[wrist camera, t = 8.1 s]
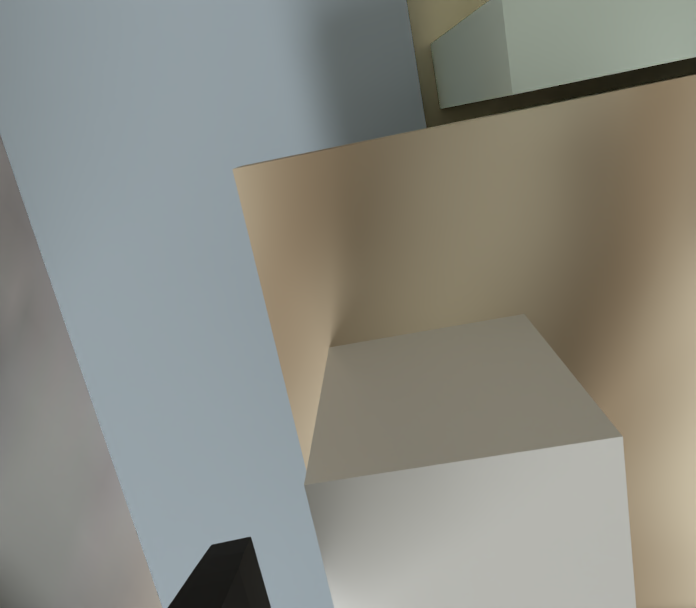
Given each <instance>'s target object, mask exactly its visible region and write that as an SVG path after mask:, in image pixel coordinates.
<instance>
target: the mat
mask: <svg viewBox="0 0 696 608" xmlns="http://www.w3.org/2000/svg"><path fill="white" fill-rule="evenodd" d="M425 128H426V121H425V115H424V109H423V102H422V96H421V89H420V83H419V77H418V70H417V64H416V58H415V51H414V45H413V38H412V32H411V26H410V19H409V13H408V6H407V0H0V135H1V138H2V141H3V144H4V147H5V150H6V153H7V156H8V159H9V161H10V164H11V167H12V170H13V173H14V176H15V179H16V182H17V185H18V188H19V191H20V194H21V196H22V199H23V202H24V205H25V208H26V211H27V214H28V217H29V220H30V223H31V226H32V228H33V231H34V234H35V237H36V240H37V243H38V246H39V249H40V252H41V255H42V258H43V261H44V263H45V266H46V269H47V272H48V275H49V278H50V281H51V284H52V287H53V290H54V293H55V295H56V298H57V301H58V304H59V307H60V310H61V313H62V316H63V319H64V322H65V325H66V328H67V330H68V333H69V336H70V339H71V342H72V345H73V348H74V351H75V354H76V357H77V360H78V362H79V365H80V368H81V371H82V374H83V377H84V380H85V383H86V386H87V389H88V392H89V395H90V397H91V400H92V403H93V406H94V409H95V412H96V415H97V418H98V421H99V424H100V427H101V429H102V432H103V435H104V438H105V441H106V444H107V447H108V450H109V453H110V456H111V459H112V462H113V464H114V467H115V470H116V473H117V476H118V479H119V482H120V485H121V488H122V491H123V494H124V496H125V499H126V502H127V505H128V508H129V511H130V514H131V517H132V520H133V523H134V526H135V529H136V531H137V534H138V537H139V540H140V543H141V546H142V549H143V552H144V555H145V558H146V561H147V563H148V566H149V569H150V572H151V575H152V578H153V581H154V584H155V587H156V590H157V593H158V596H159V598H160V601H161V604H162V607H163V608H168V606H169V605H170V603H171V602H172V601H173V599H174V598H175V596H176V595H177V593H178V592H179V590H180V589H181V587H182V586H183V584H184V583H185V582H186V580H187V579H188V577H189V576H190V574H191V573H192V571H193V570H194V568H195V567H196V566H197V564H198V563H199V561H200V560H201V558H202V557H203V556H204V554H205V553H206V551H207V550H208V549H209V547H210V546H211V545H212V544H217V543H222V542H227V541H231V540H236V539H241V538H246V537H251V539H252V542H253V546H254V549H255V553H256V556H257V560H258V563H259V567H260V570H261V574H262V577H263V581H264V584H265V588H266V591H267V595H268V598H269V602H270V606H271V608H334V605H333V601H332V597H331V593H330V589H329V585H328V581H327V577H326V573H325V569H324V565H323V560H322V556H321V552H320V548H319V544H318V540H317V536H316V532H315V528H314V524H313V520H312V516H311V512H310V507H309V503H308V499H307V495H306V491H305V487H304V482H305V477H306V467H305V463H304V459H303V455H302V451H301V447H300V443H299V439H298V435H297V431H296V427H295V423H294V419H293V414H292V410H291V406H290V402H289V398H288V394H287V390H286V386H285V382H284V378H283V374H282V370H281V366H280V362H279V357H278V353H277V349H276V345H275V341H274V337H273V333H272V329H271V325H270V321H269V317H268V313H267V309H266V304H265V300H264V296H263V292H262V288H261V284H260V280H259V276H258V272H257V268H256V264H255V260H254V256H253V252H252V247H251V243H250V239H249V235H248V231H247V227H246V223H245V219H244V215H243V211H242V207H241V203H240V199H239V195H238V190H237V186H236V182H235V178H234V174H233V170H232V169H234V168H237V167H240V166H243V165H248V164H253V163H258V162H263V161H268V160H273V159H277V158H282V157H287V156H292V155H297V154H302V153H307V152H312V151H317V150H322V149H326V148H331V147H336V146H341V145H346V144H351V143H356V142H361V141H366V140H371V139H375V138H380V137H385V136H390V135H395V134H400V133H405V132H410V131H415V130H420V129H425Z"/></svg>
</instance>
